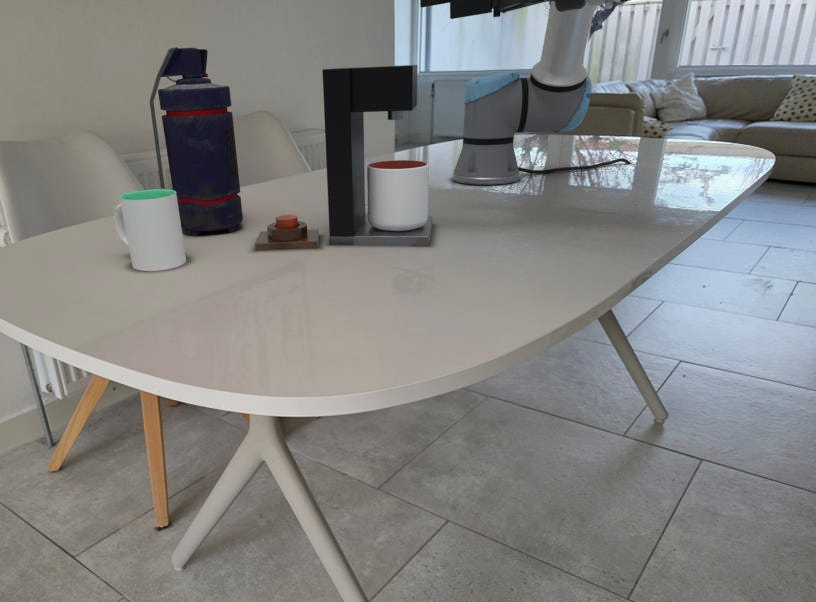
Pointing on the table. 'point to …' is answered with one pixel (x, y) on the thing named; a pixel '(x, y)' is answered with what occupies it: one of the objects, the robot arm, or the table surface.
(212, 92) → the grenade
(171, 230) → the mug
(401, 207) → the cup
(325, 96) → the coffee maker
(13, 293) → the table surface
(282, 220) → the brew button
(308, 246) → the brew pad
